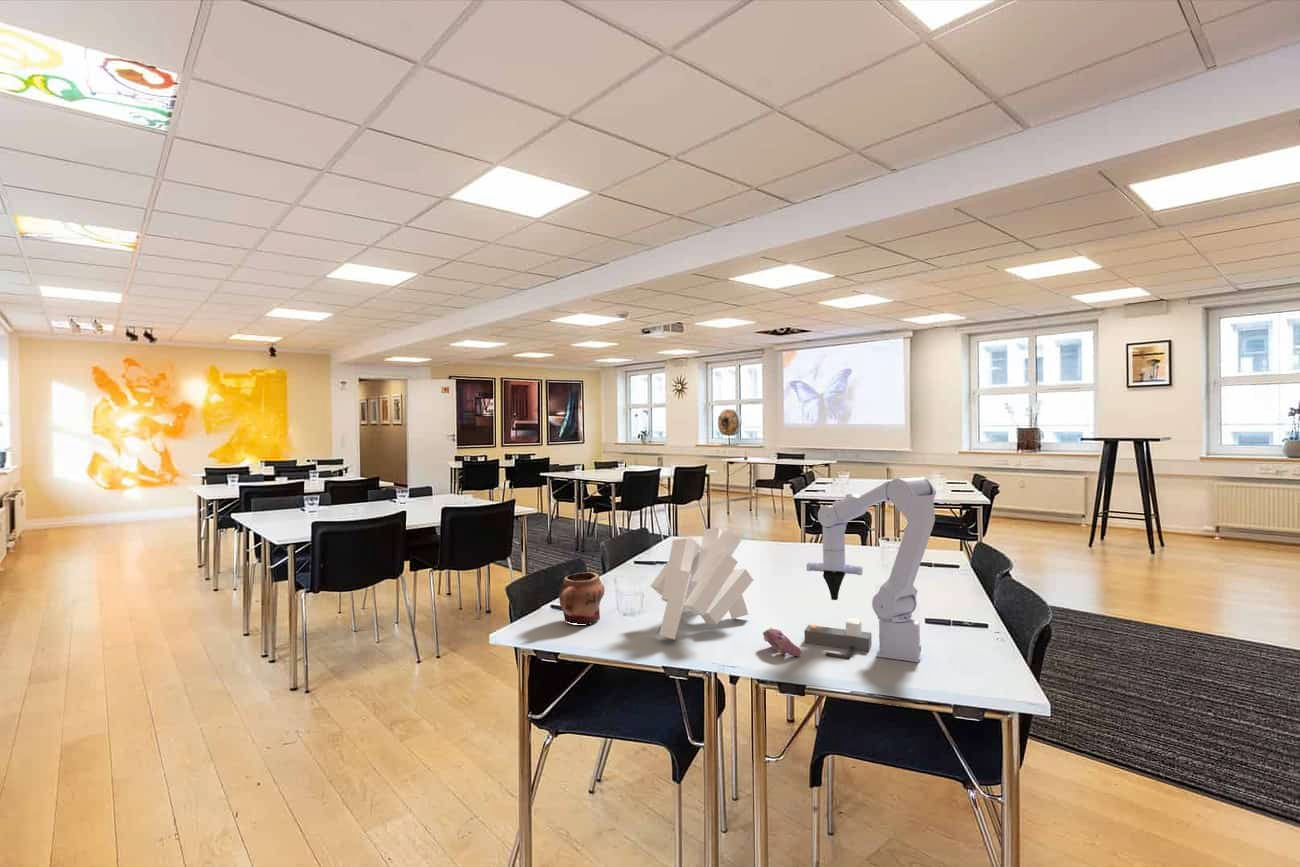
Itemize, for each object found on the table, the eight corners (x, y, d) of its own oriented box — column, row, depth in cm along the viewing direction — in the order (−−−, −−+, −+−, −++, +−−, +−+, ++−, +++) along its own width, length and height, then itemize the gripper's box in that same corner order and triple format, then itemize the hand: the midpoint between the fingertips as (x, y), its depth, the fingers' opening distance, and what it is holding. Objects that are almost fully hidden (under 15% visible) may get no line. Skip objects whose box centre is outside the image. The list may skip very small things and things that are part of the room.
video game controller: (768, 652, 159) (757, 629, 157) (781, 642, 160) (770, 619, 159) (789, 665, 149) (778, 641, 148) (803, 655, 151) (792, 631, 150)
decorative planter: (584, 636, 169) (583, 585, 169) (545, 632, 173) (544, 582, 173) (613, 615, 187) (612, 569, 187) (577, 612, 191) (576, 567, 191)
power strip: (871, 645, 158) (871, 620, 158) (865, 661, 147) (864, 634, 147) (808, 636, 165) (808, 613, 165) (798, 652, 154) (797, 626, 154)
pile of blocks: (738, 673, 155) (786, 543, 163) (629, 623, 160) (682, 500, 168) (728, 661, 188) (769, 555, 196) (639, 620, 193) (682, 518, 201)
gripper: (863, 548, 168) (864, 598, 168) (809, 544, 174) (810, 592, 174) (860, 553, 161) (861, 604, 161) (804, 549, 168) (805, 599, 168)
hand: (834, 599), depth 167 cm, fingers closed
